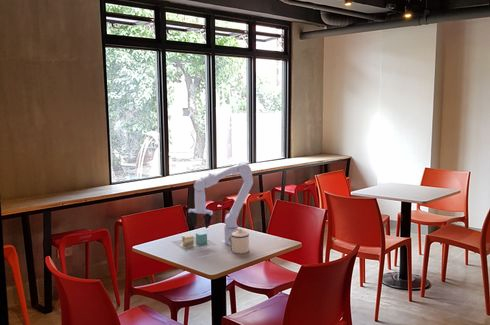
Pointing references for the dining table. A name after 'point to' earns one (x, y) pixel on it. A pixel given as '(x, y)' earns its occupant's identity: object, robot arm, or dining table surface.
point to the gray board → (195, 246)
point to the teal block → (201, 238)
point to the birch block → (187, 240)
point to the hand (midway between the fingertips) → (201, 226)
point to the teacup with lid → (239, 241)
